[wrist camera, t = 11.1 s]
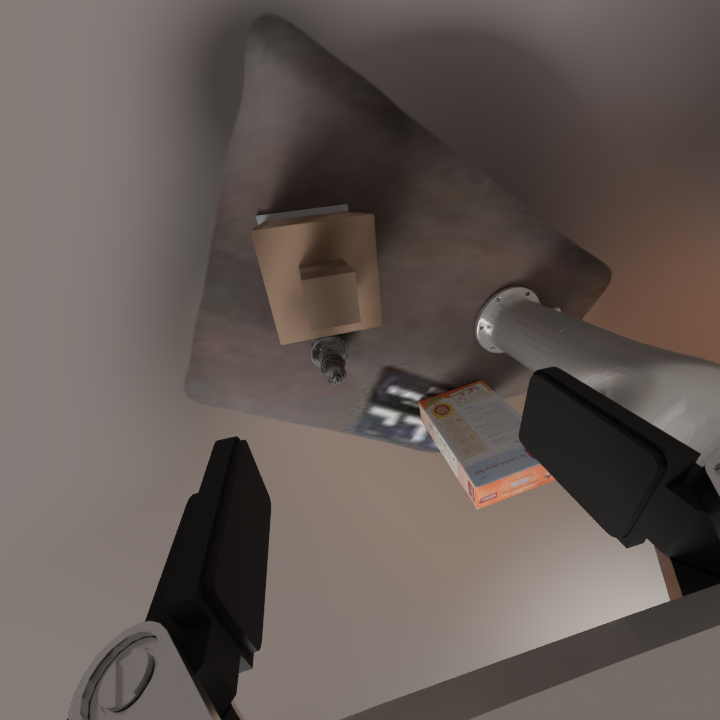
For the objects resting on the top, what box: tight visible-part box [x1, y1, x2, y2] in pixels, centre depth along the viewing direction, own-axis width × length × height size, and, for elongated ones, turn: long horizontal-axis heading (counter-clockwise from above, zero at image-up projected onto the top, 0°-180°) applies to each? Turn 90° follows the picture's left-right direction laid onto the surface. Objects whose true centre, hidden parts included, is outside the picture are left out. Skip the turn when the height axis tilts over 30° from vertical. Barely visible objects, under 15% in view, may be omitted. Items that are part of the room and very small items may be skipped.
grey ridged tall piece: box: [311, 334, 348, 385], centre depth 43 cm, size 6×6×12 cm
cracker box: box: [419, 380, 556, 509], centre depth 51 cm, size 14×6×21 cm, turn 103°
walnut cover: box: [250, 211, 382, 345], centre depth 31 cm, size 11×11×22 cm
